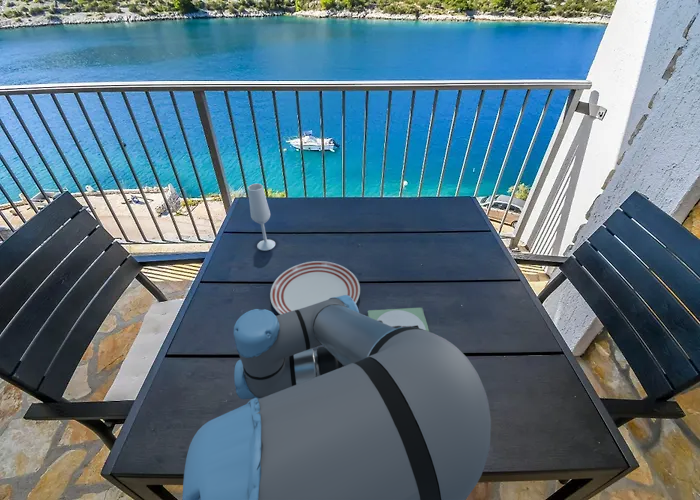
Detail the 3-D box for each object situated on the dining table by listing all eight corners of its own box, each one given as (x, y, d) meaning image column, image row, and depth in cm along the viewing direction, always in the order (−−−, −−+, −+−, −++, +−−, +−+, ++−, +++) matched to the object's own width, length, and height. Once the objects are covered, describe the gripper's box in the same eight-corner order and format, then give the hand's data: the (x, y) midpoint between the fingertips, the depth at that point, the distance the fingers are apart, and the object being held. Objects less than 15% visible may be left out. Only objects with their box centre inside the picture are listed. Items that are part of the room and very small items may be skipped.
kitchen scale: (437, 366, 89) (438, 359, 87) (375, 370, 88) (375, 363, 86) (420, 313, 103) (422, 306, 101) (367, 316, 102) (367, 309, 100)
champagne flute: (278, 240, 131) (269, 183, 116) (271, 251, 126) (260, 193, 111) (261, 238, 132) (250, 181, 117) (253, 249, 127) (241, 190, 112)
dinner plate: (265, 276, 115) (264, 269, 113) (344, 260, 122) (344, 252, 120) (279, 342, 95) (277, 334, 93) (372, 318, 102) (373, 310, 100)
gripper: (313, 334, 80) (407, 320, 83) (325, 432, 63) (443, 410, 66) (311, 312, 75) (410, 298, 78) (323, 412, 58) (450, 389, 61)
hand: (425, 349), depth 72 cm, fingers closed on potion bottle, 9 cm apart
